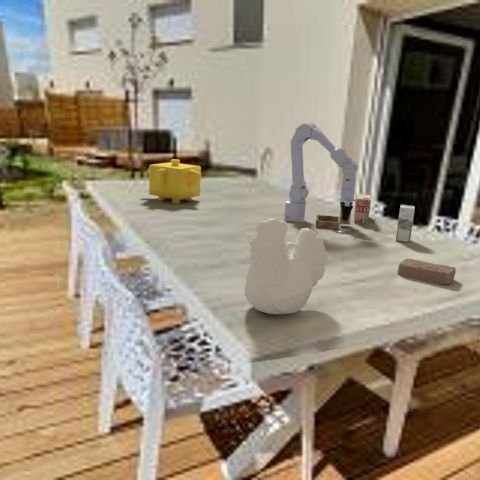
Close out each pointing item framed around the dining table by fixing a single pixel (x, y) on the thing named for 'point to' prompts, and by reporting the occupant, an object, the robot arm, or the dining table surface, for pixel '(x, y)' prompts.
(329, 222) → the crate
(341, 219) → the oak block
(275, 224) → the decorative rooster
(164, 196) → the cube teapot
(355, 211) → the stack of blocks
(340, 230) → the slate coaster
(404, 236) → the syrup box
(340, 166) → the robot arm
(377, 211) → the dining table surface
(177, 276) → the dining table surface
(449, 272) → the brick
